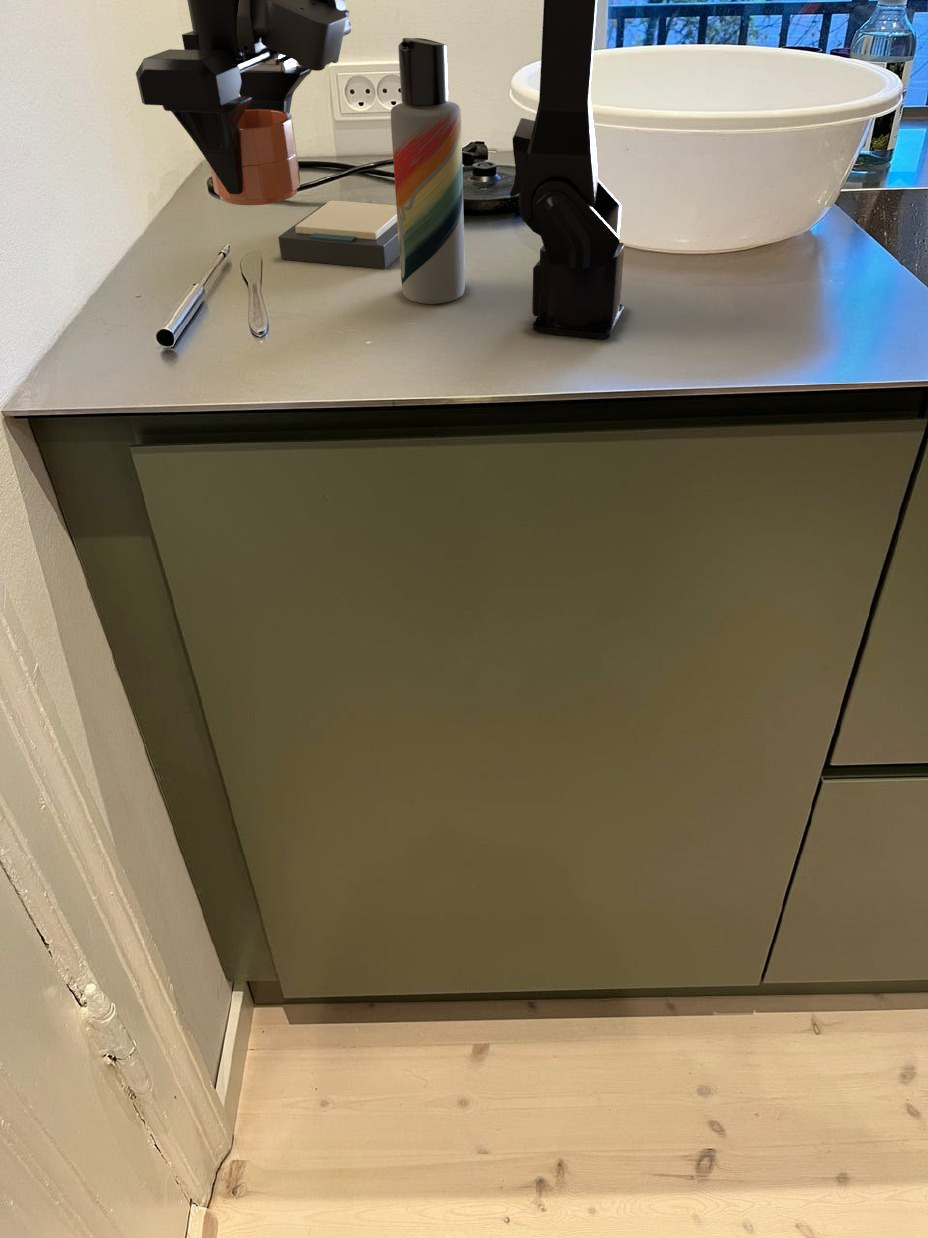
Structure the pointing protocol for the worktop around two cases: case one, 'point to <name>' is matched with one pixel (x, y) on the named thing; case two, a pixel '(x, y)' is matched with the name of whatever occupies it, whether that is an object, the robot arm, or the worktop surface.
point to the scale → (345, 235)
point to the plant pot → (265, 159)
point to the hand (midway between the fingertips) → (256, 180)
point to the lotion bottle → (428, 176)
